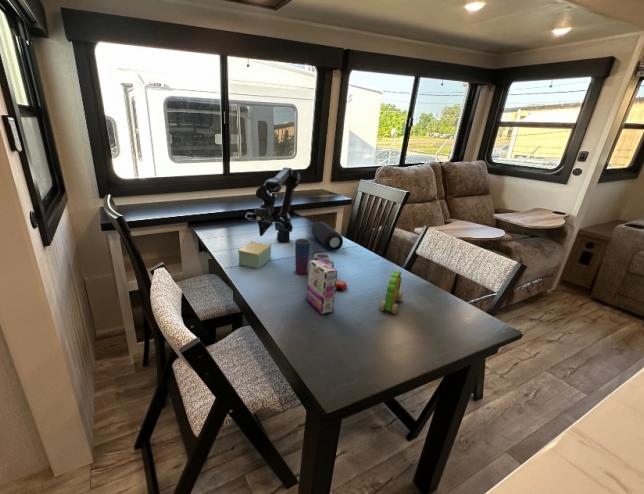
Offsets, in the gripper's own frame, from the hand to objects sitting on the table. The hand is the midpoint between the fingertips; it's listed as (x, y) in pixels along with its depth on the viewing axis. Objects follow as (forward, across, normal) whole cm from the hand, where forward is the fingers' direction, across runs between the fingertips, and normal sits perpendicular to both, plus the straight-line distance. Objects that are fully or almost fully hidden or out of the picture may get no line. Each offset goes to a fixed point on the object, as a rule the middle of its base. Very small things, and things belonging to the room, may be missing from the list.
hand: (260, 236), depth 150 cm
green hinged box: (+13, 0, 0) cm, 13 cm away
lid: (+7, 0, -3) cm, 8 cm away
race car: (+16, +39, -6) cm, 43 cm away
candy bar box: (+24, +40, -20) cm, 51 cm away
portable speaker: (-7, +23, +36) cm, 43 cm away
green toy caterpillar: (+19, +63, -10) cm, 67 cm away
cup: (+13, +24, 0) cm, 27 cm away
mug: (+10, +32, +6) cm, 34 cm away
